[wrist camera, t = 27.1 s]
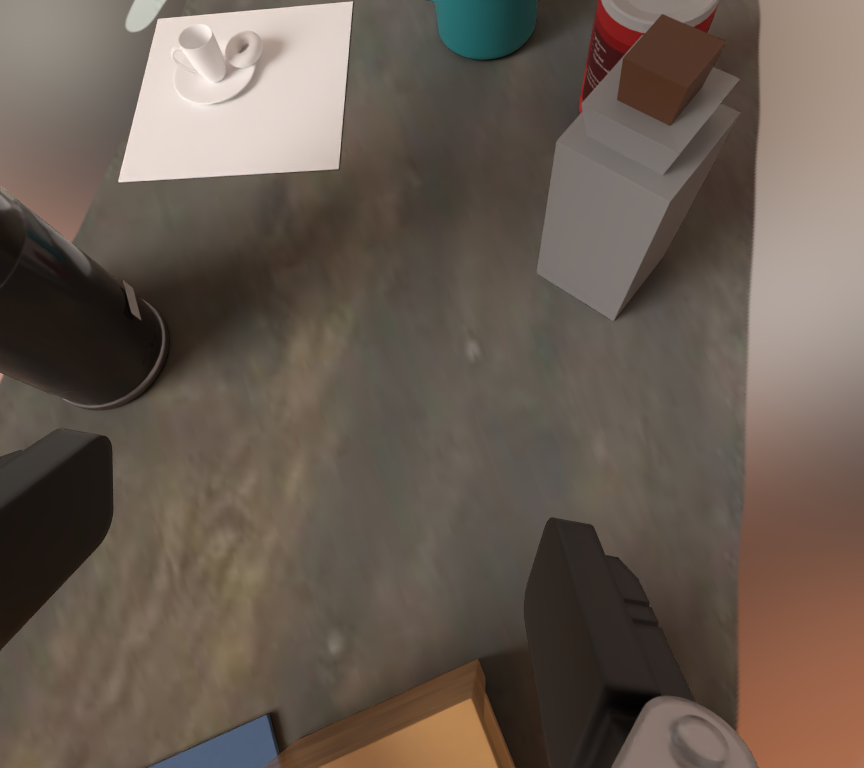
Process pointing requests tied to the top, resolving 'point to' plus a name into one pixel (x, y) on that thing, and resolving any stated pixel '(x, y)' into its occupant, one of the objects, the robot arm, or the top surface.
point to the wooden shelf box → (412, 731)
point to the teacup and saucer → (242, 94)
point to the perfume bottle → (634, 164)
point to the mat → (231, 749)
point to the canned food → (634, 30)
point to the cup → (485, 26)
